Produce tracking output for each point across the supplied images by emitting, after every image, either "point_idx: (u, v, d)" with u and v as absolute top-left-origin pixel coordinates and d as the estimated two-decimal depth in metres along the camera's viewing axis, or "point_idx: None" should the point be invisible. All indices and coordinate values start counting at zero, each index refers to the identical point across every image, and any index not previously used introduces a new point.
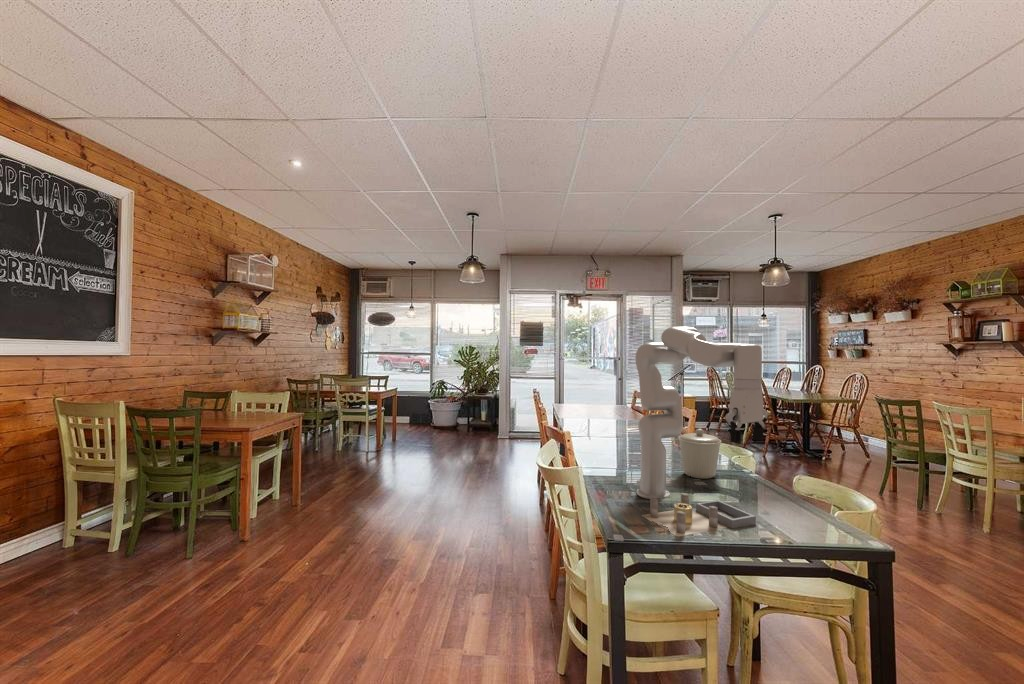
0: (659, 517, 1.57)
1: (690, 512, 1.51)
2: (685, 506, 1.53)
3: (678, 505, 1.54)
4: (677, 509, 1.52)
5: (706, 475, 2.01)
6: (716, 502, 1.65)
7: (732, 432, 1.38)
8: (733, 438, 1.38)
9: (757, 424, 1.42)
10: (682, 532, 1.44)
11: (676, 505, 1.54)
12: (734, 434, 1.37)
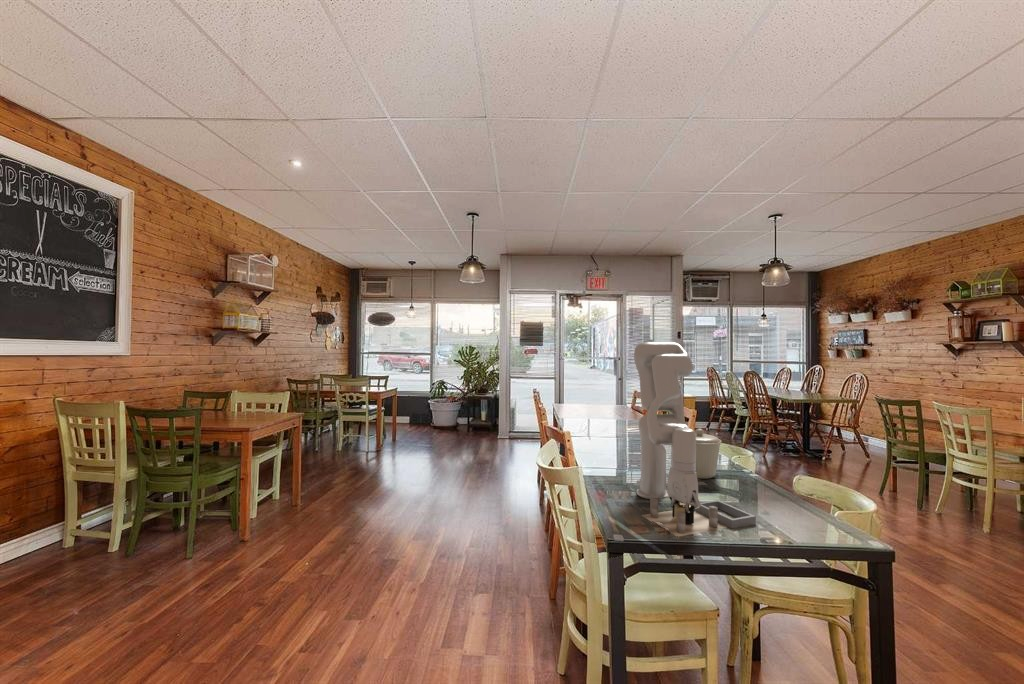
0: (659, 517, 1.57)
1: None
2: (685, 506, 1.53)
3: (678, 505, 1.54)
4: (677, 509, 1.52)
5: (706, 475, 2.01)
6: (716, 502, 1.65)
7: (690, 515, 1.50)
8: (691, 520, 1.50)
9: (676, 502, 1.56)
10: (682, 532, 1.44)
11: (676, 505, 1.54)
12: (692, 516, 1.50)
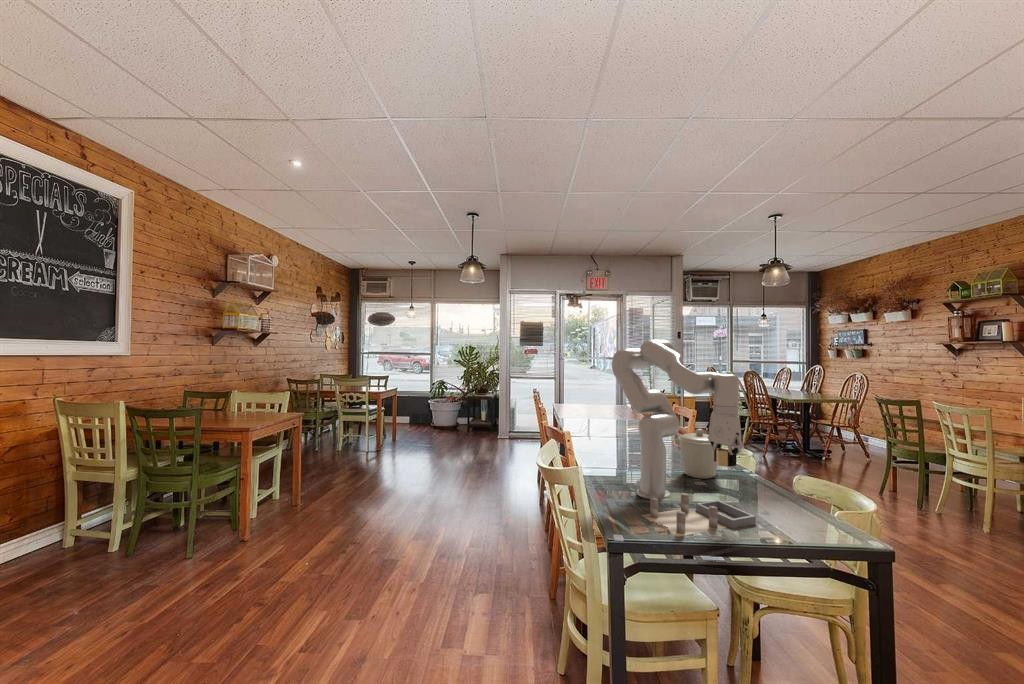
0: (659, 517, 1.57)
1: None
2: (727, 450, 1.57)
3: (720, 449, 1.58)
4: (720, 452, 1.56)
5: (706, 475, 2.01)
6: (716, 502, 1.65)
7: (733, 457, 1.53)
8: (734, 462, 1.53)
9: (717, 447, 1.60)
10: (682, 532, 1.44)
11: (718, 449, 1.58)
12: (735, 458, 1.54)
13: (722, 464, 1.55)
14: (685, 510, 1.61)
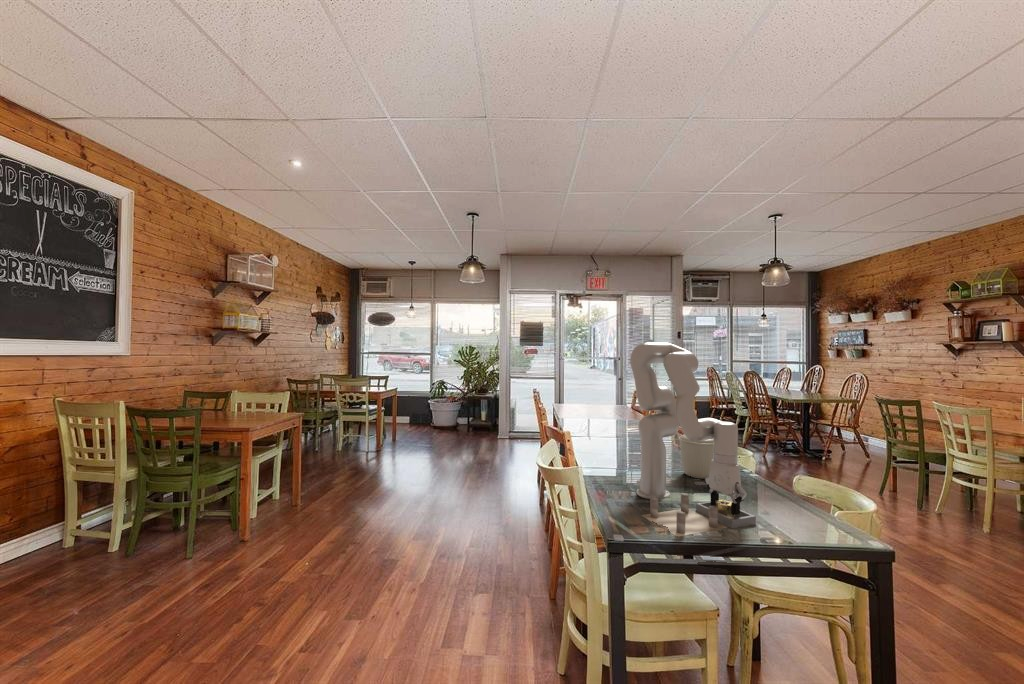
0: (659, 517, 1.57)
1: None
2: (727, 503, 1.57)
3: (720, 502, 1.58)
4: (719, 506, 1.56)
5: (706, 475, 2.01)
6: None
7: (737, 506, 1.52)
8: (737, 511, 1.52)
9: (714, 491, 1.61)
10: (682, 532, 1.44)
11: (718, 502, 1.58)
12: (738, 507, 1.52)
13: None
14: (685, 510, 1.61)
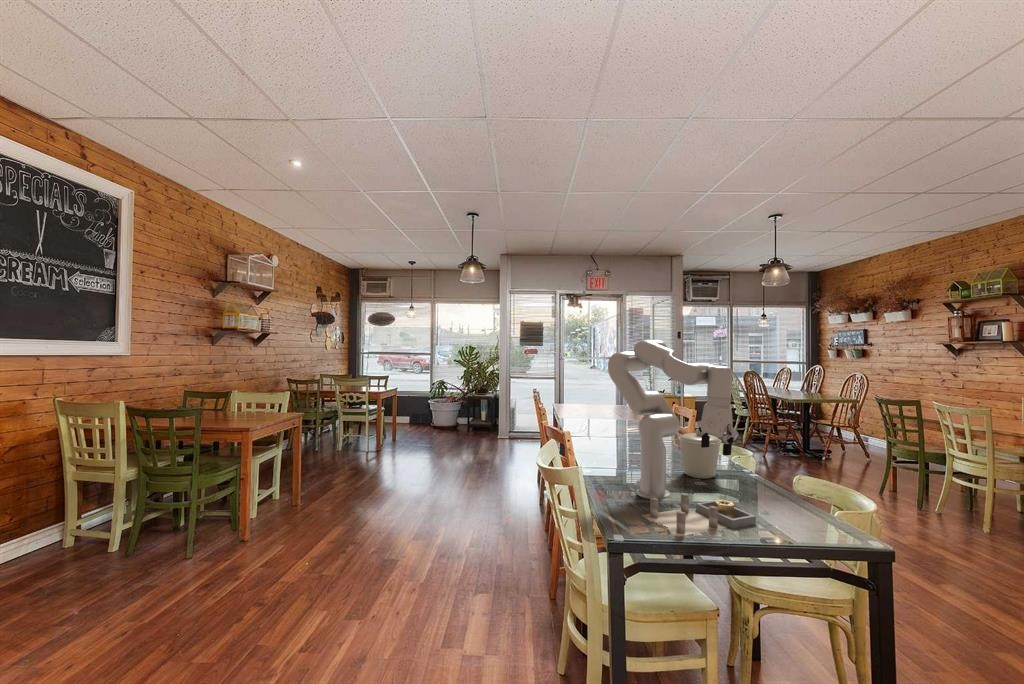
0: (659, 517, 1.57)
1: (732, 508, 1.55)
2: (727, 503, 1.57)
3: (720, 502, 1.58)
4: (719, 506, 1.56)
5: (706, 475, 2.01)
6: None
7: (729, 446, 1.54)
8: (729, 451, 1.54)
9: (705, 434, 1.64)
10: (682, 532, 1.44)
11: (718, 502, 1.58)
12: (730, 448, 1.54)
13: None
14: (685, 510, 1.61)
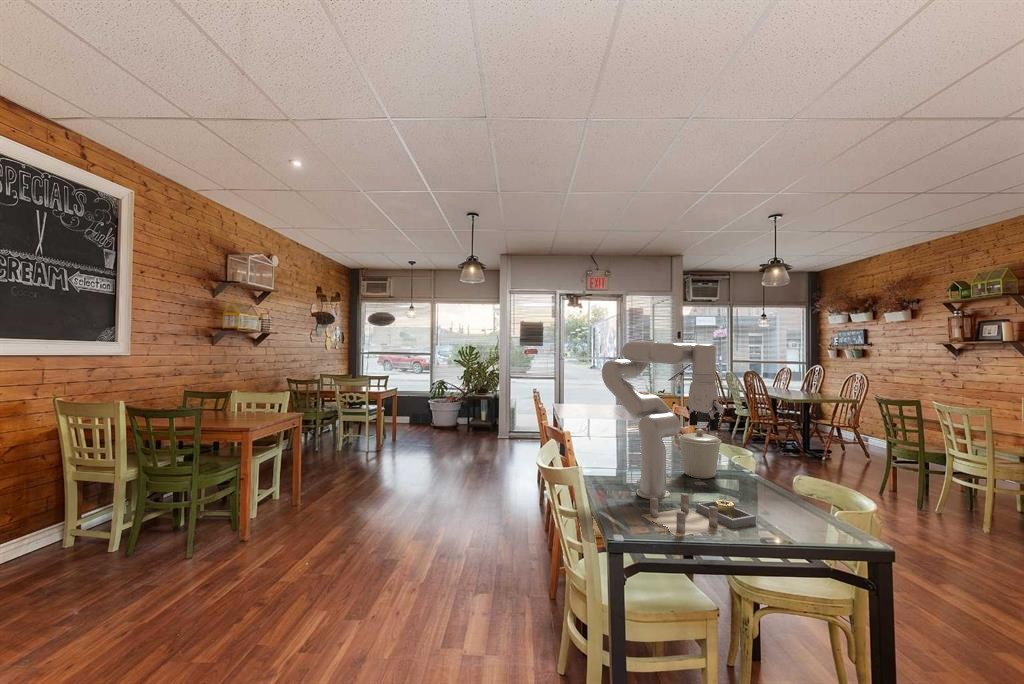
0: (659, 517, 1.57)
1: (732, 508, 1.55)
2: (727, 503, 1.57)
3: (720, 502, 1.58)
4: (719, 506, 1.56)
5: (706, 475, 2.01)
6: None
7: (715, 421, 1.57)
8: (716, 426, 1.57)
9: (693, 412, 1.67)
10: (682, 532, 1.44)
11: (718, 502, 1.58)
12: (716, 423, 1.57)
13: None
14: (685, 510, 1.61)
